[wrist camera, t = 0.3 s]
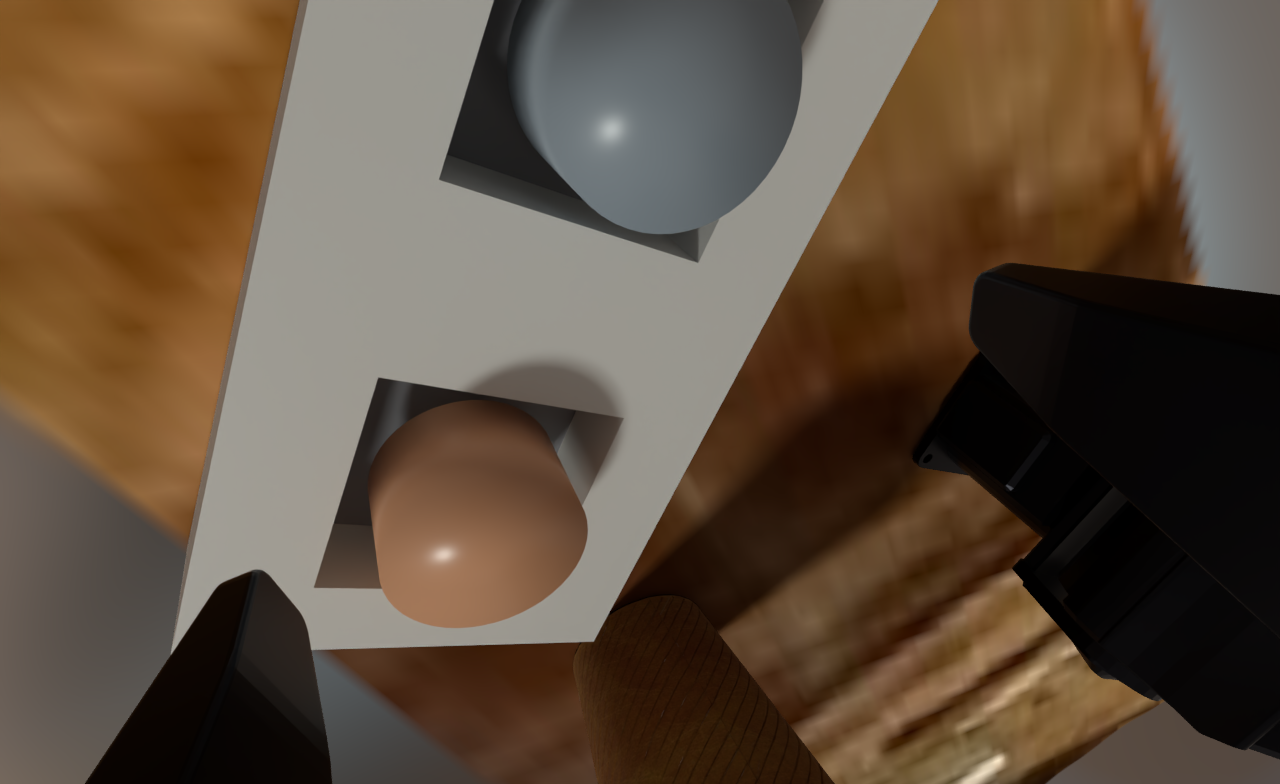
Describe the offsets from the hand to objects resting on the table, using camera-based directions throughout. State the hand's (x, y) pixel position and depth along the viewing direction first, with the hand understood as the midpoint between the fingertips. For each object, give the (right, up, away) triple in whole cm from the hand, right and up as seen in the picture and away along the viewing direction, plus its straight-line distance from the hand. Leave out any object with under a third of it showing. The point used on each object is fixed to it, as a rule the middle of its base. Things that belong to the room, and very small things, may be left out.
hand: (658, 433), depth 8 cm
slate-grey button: (-1, +7, +7) cm, 10 cm away
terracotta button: (-5, -2, +11) cm, 12 cm away
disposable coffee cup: (0, -11, +24) cm, 26 cm away
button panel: (-4, +4, +11) cm, 12 cm away
